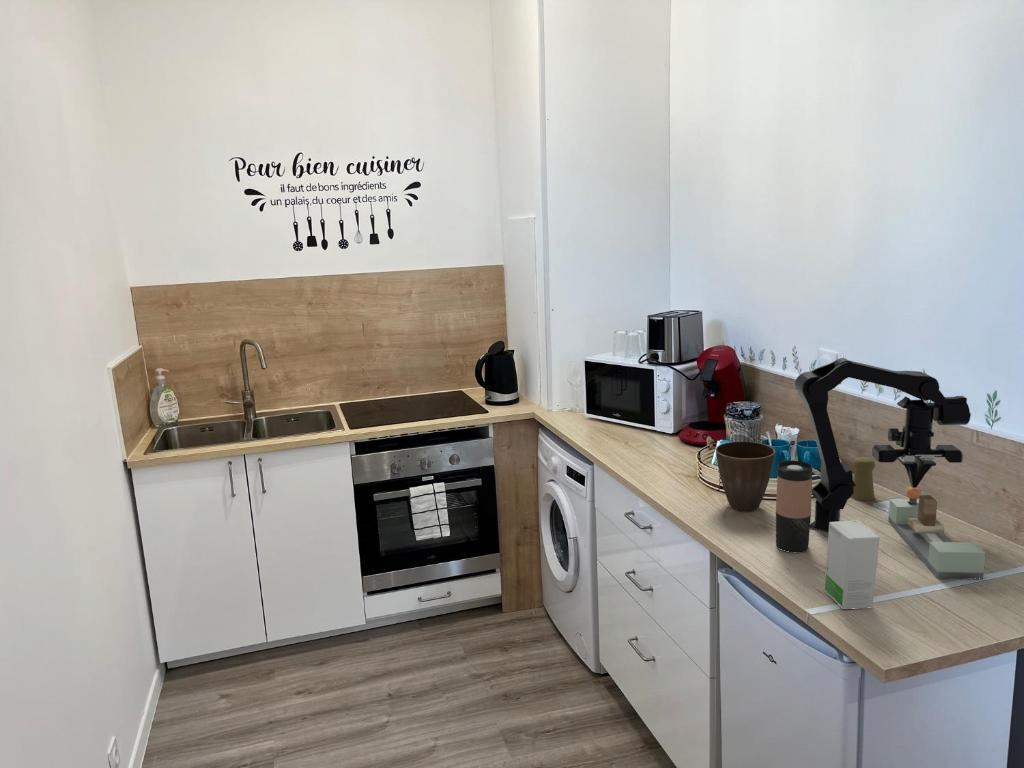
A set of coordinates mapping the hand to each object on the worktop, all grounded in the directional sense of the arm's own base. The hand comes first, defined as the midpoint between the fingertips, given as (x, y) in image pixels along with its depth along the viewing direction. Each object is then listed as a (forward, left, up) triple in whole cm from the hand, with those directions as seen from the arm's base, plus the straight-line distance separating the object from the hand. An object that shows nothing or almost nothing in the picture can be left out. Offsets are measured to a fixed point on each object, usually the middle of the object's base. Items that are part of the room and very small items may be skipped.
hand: (913, 487), depth 184 cm
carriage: (-7, -5, -7) cm, 11 cm away
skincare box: (-45, -1, -10) cm, 46 cm away
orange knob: (0, 0, -4) cm, 4 cm away
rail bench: (-10, -7, -10) cm, 16 cm away
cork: (+13, +16, -10) cm, 23 cm away
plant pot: (-12, +38, -10) cm, 41 cm away
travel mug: (-28, +18, -10) cm, 35 cm away
